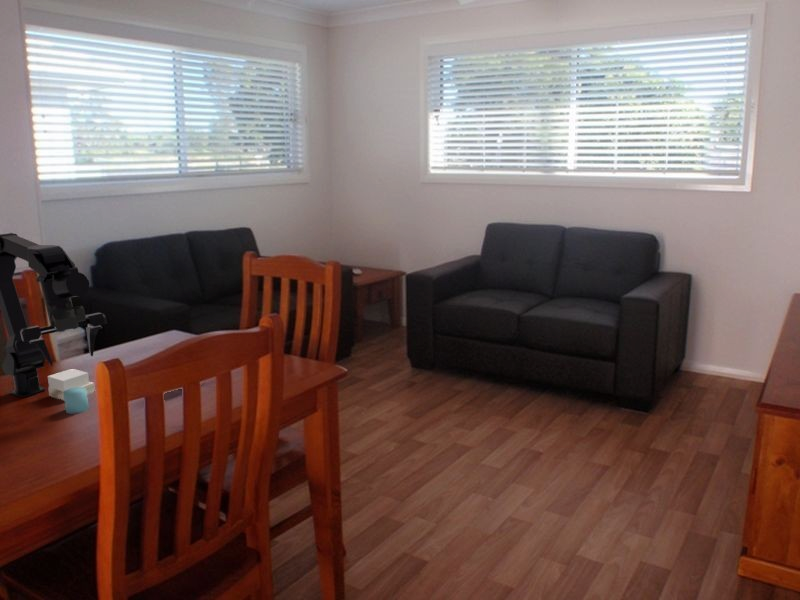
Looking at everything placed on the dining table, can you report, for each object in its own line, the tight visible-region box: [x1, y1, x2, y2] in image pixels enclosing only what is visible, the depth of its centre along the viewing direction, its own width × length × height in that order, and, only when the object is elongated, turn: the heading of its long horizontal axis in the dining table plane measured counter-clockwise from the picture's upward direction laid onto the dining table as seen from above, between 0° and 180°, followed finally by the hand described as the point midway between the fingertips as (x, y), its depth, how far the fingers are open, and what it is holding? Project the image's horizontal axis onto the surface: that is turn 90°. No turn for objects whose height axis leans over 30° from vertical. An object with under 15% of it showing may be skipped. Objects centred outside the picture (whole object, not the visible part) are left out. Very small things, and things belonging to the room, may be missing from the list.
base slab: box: [47, 381, 96, 402], centre depth 186 cm, size 8×8×3 cm
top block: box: [47, 368, 90, 392], centre depth 186 cm, size 7×7×3 cm
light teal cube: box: [63, 387, 90, 415], centre depth 176 cm, size 5×5×5 cm
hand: (72, 360), depth 173 cm, fingers open, 9 cm apart
